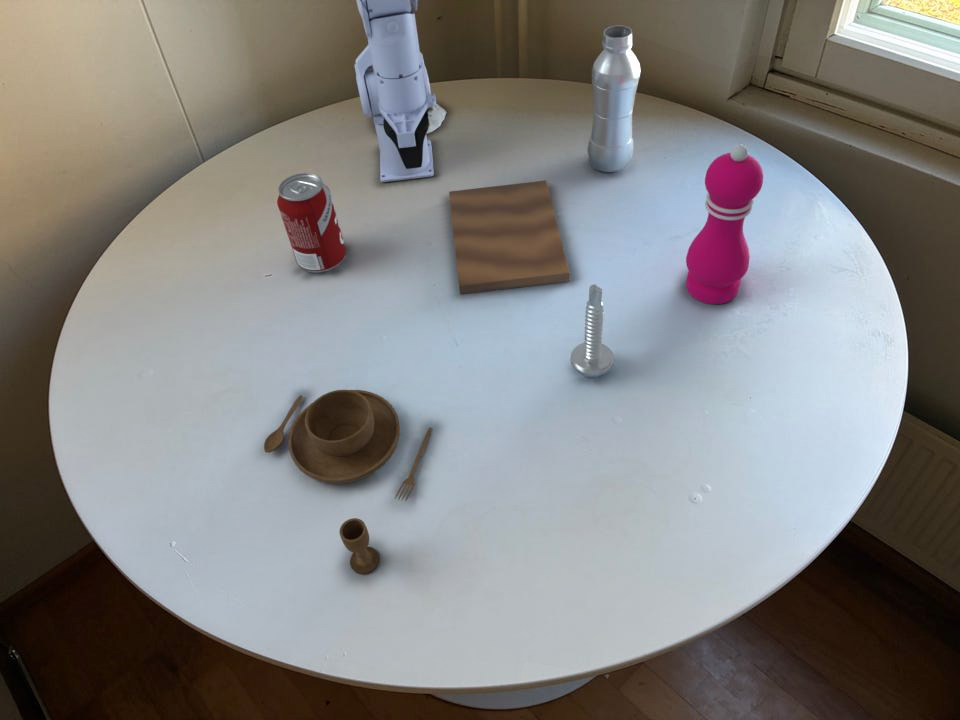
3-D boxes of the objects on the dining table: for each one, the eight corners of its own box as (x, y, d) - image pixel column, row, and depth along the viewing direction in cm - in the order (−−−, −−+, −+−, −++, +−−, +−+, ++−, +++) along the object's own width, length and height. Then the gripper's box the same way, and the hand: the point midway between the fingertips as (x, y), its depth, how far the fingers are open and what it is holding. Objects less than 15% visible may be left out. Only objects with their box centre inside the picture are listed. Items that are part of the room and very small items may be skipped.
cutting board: (450, 200, 110) (448, 191, 109) (546, 188, 110) (546, 180, 109) (459, 294, 97) (458, 285, 96) (569, 281, 97) (569, 272, 96)
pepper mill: (743, 310, 91) (778, 167, 76) (680, 305, 93) (704, 163, 78) (741, 270, 96) (775, 128, 81) (682, 265, 97) (705, 125, 82)
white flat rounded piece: (450, 133, 122) (448, 111, 119) (376, 143, 122) (371, 122, 119) (443, 97, 130) (440, 75, 127) (373, 107, 129) (369, 85, 126)
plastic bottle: (578, 161, 114) (582, 29, 99) (617, 147, 116) (626, 15, 101) (601, 183, 110) (608, 48, 95) (641, 168, 112) (654, 34, 97)
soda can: (322, 283, 100) (299, 208, 91) (287, 264, 103) (261, 191, 94) (357, 254, 104) (338, 180, 95) (322, 237, 107) (301, 163, 98)
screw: (570, 353, 89) (613, 354, 88) (569, 385, 86) (613, 387, 85) (572, 269, 79) (619, 269, 79) (571, 301, 76) (620, 302, 75)
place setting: (442, 413, 84) (436, 379, 80) (378, 578, 72) (367, 548, 67) (298, 388, 88) (285, 353, 84) (214, 540, 76) (193, 509, 72)
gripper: (434, 93, 85) (447, 194, 96) (427, 34, 95) (440, 131, 105) (372, 101, 85) (391, 201, 95) (371, 41, 95) (389, 137, 105)
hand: (413, 165), depth 100 cm, fingers closed
